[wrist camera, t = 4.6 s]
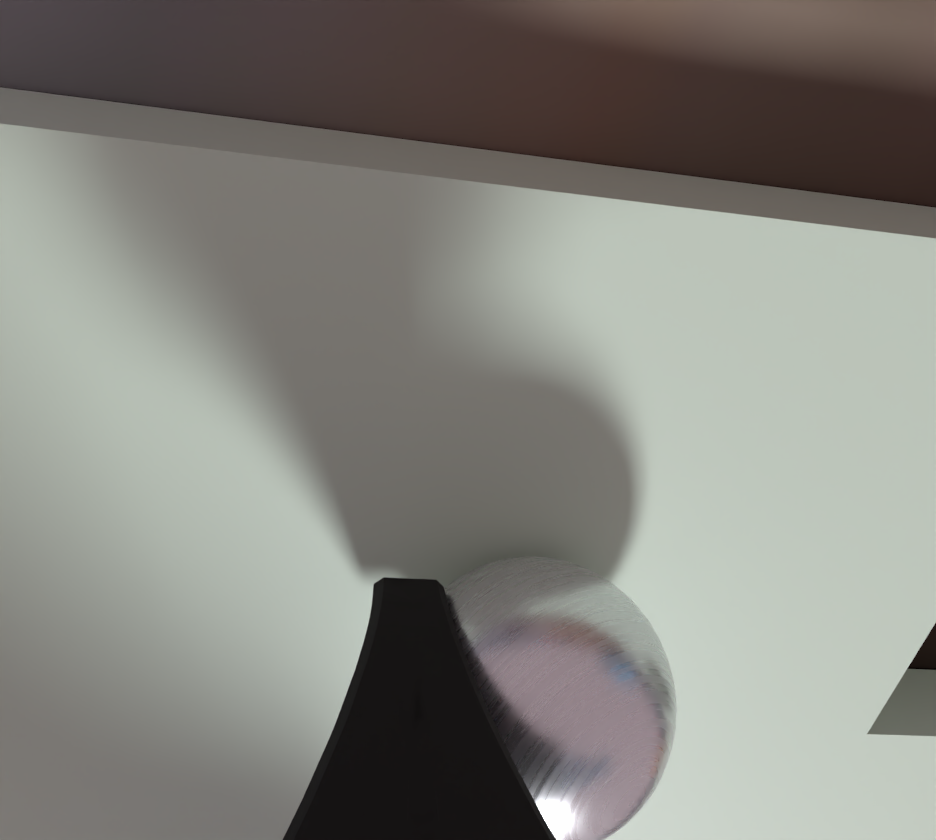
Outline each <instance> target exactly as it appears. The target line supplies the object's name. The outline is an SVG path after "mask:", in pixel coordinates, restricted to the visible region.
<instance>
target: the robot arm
mask: <svg viewBox="0 0 936 840" xmlns="http://www.w3.org/2000/svg"><path fill="white" fill-rule="evenodd" d="M283 840H556V838H555V837H554V835H553V833H552V832H551V830H550V828H549V826H548V824H547V823H546V821H545V819H544V817H543V816H542V814H541V812H540V810H539V808H538V807H537V805H536V803H535V801H534V799H533V797H532V795H531V794H530V792H529V790H528V788H527V786H526V784H525V782H524V780H523V779H522V777H521V775H520V773H519V771H518V769H517V767H516V765H515V763H514V761H513V759H512V757H511V755H510V753H509V751H508V749H507V747H506V745H505V743H504V741H503V739H502V737H501V735H500V732H499V730H498V728H497V726H496V724H495V722H494V719H493V717H492V715H491V713H490V711H489V709H488V706H487V704H486V702H485V700H484V698H483V696H482V693H481V691H480V689H479V686H478V684H477V682H476V679H475V677H474V675H473V672H472V670H471V667H470V664H469V662H468V659H467V657H466V654H465V652H464V649H463V647H462V644H461V641H460V638H459V636H458V633H457V630H456V627H455V624H454V621H453V618H452V615H451V611H450V608H449V605H448V601H447V598H446V594H445V589H444V587H443V586H442V585H441V584H440V583H439V582H438V581H437V580H433V579H410V578H387V577H383V578H382V579H380V580H379V581H377V582H376V583H374V586H373V597H372V607H371V612H370V618H369V623H368V627H367V631H366V635H365V639H364V642H363V646H362V649H361V652H360V656H359V659H358V662H357V665H356V669H355V672H354V674H353V677H352V680H351V683H350V685H349V688H348V691H347V693H346V696H345V699H344V702H343V704H342V707H341V710H340V713H339V715H338V718H337V721H336V723H335V726H334V728H333V731H332V733H331V736H330V738H329V740H328V742H327V745H326V747H325V749H324V751H323V754H322V756H321V758H320V761H319V763H318V765H317V767H316V770H315V772H314V774H313V776H312V779H311V781H310V783H309V785H308V788H307V790H306V792H305V794H304V797H303V799H302V801H301V803H300V805H299V807H298V809H297V811H296V813H295V815H294V817H293V819H292V821H291V824H290V826H289V828H288V830H287V832H286V834H285V836H284V838H283Z"/></svg>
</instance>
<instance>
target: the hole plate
mask: <svg viewBox="0 0 936 840" xmlns="http://www.w3.org/2000/svg"><path fill="white" fill-rule="evenodd" d="M527 556H536V557H547V558H554V559H559V560H564V561H567V562H570V563H574V564H577V565H580V566H582V567H584V568H586V569H588V570H590V571H592V572H595V573H597V574H599V575H601V576H602V577H604V578H605V579H606V580H608V581H609V582H611V583H612V584H614V585H615V586H616V587H618V588H619V589H620V590H622V591H623V592H624V593H625V594H626V595H627V596H628V597H629V598H630V599H631V600H632V601H633V602H634V603H635V604H636V605H637V607H638V608H639V609H640V610H641V612H642V613H643V614H644V615H645V617H646V618H647V619H648V621H649V622H650V623H651V625H652V627H653V628H654V630H655V632H656V633H657V635H658V637H659V639H660V641H661V644H662V646H663V648H664V651H665V653H666V656H667V658H668V660H669V664H670V668H671V672H672V676H673V680H674V685H675V694H676V707H677V712H676V730H675V736H674V741H673V746H672V750H671V754H670V758H669V761H668V763H667V766H666V768H665V771H664V773H663V775H662V777H661V780H660V782H659V784H658V786H657V788H656V789H655V791H654V792H653V794H652V796H651V797H650V798H649V800H648V801H647V802H646V804H645V805H644V806H643V808H642V809H641V810H640V811H639V812H638V813H637V814H636V815H635V816H634V817H633V818H632V819H631V820H630V821H629V822H628V823H627V824H626V825H625V826H624V827H622V828H621V829H620V830H619V831H617V832H616V833H614V834H613V835H611V836H610V837H608V838H606V839H604V840H936V670H925V669H907V668H908V667H909V665H910V663H911V662H912V660H913V659H914V657H915V655H916V654H917V652H918V650H919V649H920V647H921V646H922V644H923V642H924V641H925V639H926V637H927V636H928V634H929V633H930V631H931V629H932V628H933V626H934V625H935V623H936V208H935V207H927V206H920V205H912V204H904V203H896V202H889V201H881V200H873V199H865V198H857V197H850V196H842V195H834V194H826V193H818V192H811V191H803V190H795V189H787V188H780V187H772V186H764V185H756V184H748V183H741V182H733V181H725V180H717V179H710V178H702V177H694V176H686V175H678V174H671V173H663V172H655V171H647V170H640V169H632V168H624V167H616V166H608V165H601V164H593V163H585V162H577V161H570V160H562V159H554V158H546V157H538V156H531V155H523V154H515V153H507V152H500V151H492V150H484V149H476V148H468V147H461V146H453V145H445V144H437V143H430V142H422V141H414V140H406V139H398V138H391V137H383V136H375V135H367V134H359V133H352V132H344V131H336V130H328V129H321V128H313V127H305V126H297V125H289V124H282V123H274V122H266V121H258V120H251V119H243V118H235V117H227V116H219V115H212V114H204V113H196V112H188V111H181V110H173V109H165V108H157V107H149V106H142V105H134V104H126V103H118V102H111V101H103V100H95V99H87V98H79V97H72V96H64V95H56V94H48V93H41V92H33V91H25V90H17V89H9V88H2V87H0V840H283V838H284V836H285V834H286V832H287V830H288V828H289V826H290V824H291V821H292V819H293V817H294V815H295V813H296V811H297V809H298V807H299V805H300V803H301V801H302V799H303V797H304V794H305V792H306V790H307V788H308V785H309V783H310V781H311V779H312V776H313V774H314V772H315V770H316V767H317V765H318V763H319V761H320V758H321V756H322V754H323V751H324V749H325V747H326V745H327V742H328V740H329V738H330V736H331V733H332V731H333V728H334V726H335V723H336V721H337V718H338V715H339V713H340V710H341V707H342V704H343V702H344V699H345V696H346V693H347V691H348V688H349V685H350V683H351V680H352V677H353V674H354V672H355V669H356V665H357V662H358V659H359V656H360V652H361V649H362V646H363V642H364V639H365V635H366V631H367V627H368V623H369V618H370V612H371V607H372V597H373V586H374V583H376V582H377V581H379V580H380V579H382V578H383V577H387V578H410V579H433V580H437V581H438V582H439V583H440V584H441V585H442V586H443V587H446V586H447V585H448V584H450V583H451V582H452V581H454V580H455V579H457V578H458V577H460V576H462V575H463V574H465V573H467V572H469V571H471V570H473V569H475V568H477V567H479V566H482V565H484V564H487V563H491V562H494V561H498V560H502V559H506V558H513V557H527Z"/></svg>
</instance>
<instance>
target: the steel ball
mask: <svg viewBox="0 0 936 840" xmlns="http://www.w3.org/2000/svg"><path fill="white" fill-rule="evenodd" d="M444 589H445V594H446V598H447V601H448V605H449V608H450V611H451V615H452V618H453V621H454V624H455V627H456V630H457V633H458V636H459V638H460V641H461V644H462V647H463V649H464V652H465V654H466V657H467V659H468V662H469V664H470V667H471V670H472V672H473V675H474V677H475V679H476V682H477V684H478V686H479V689H480V691H481V693H482V696H483V698H484V700H485V702H486V704H487V706H488V709H489V711H490V713H491V715H492V717H493V719H494V722H495V724H496V726H497V728H498V730H499V732H500V735H501V737H502V739H503V741H504V743H505V745H506V747H507V749H508V751H509V753H510V755H511V757H512V759H513V761H514V763H515V765H516V767H517V769H518V771H519V773H520V775H521V777H522V779H523V780H524V782H525V784H526V786H527V788H528V790H529V792H530V794H531V795H532V797H533V799H534V801H535V803H536V805H537V807H538V808H539V810H540V812H541V814H542V816H543V817H544V819H545V821H546V823H547V824H548V826H549V828H550V830H551V832H552V833H553V835H554V837H555V838H556V840H604V839H606V838H608V837H610V836H611V835H613V834H614V833H616V832H617V831H619V830H620V829H621V828H622V827H624V826H625V825H626V824H627V823H628V822H629V821H630V820H631V819H632V818H633V817H634V816H635V815H636V814H637V813H638V812H639V811H640V810H641V809H642V808H643V806H644V805H645V804H646V802H647V801H648V800H649V798H650V797H651V796H652V794H653V792H654V791H655V789H656V788H657V786H658V784H659V782H660V780H661V777H662V775H663V773H664V771H665V768H666V766H667V763H668V761H669V758H670V754H671V750H672V746H673V741H674V736H675V730H676V712H677V707H676V694H675V685H674V680H673V676H672V672H671V668H670V664H669V660H668V658H667V656H666V653H665V651H664V648H663V646H662V644H661V641H660V639H659V637H658V635H657V633H656V632H655V630H654V628H653V627H652V625H651V623H650V622H649V621H648V619H647V618H646V617H645V615H644V614H643V613H642V612H641V610H640V609H639V608H638V607H637V605H636V604H635V603H634V602H633V601H632V600H631V599H630V598H629V597H628V596H627V595H626V594H625V593H624V592H623V591H622V590H620V589H619V588H618V587H616V586H615V585H614V584H612V583H611V582H609V581H608V580H606V579H605V578H604V577H602V576H601V575H599V574H597V573H595V572H592V571H590V570H588V569H586V568H584V567H582V566H580V565H577V564H574V563H570V562H567V561H564V560H559V559H554V558H547V557H536V556H527V557H513V558H506V559H502V560H498V561H494V562H491V563H487V564H484V565H482V566H479V567H477V568H475V569H473V570H471V571H469V572H467V573H465V574H463V575H462V576H460V577H458V578H457V579H455V580H454V581H452V582H451V583H450V584H448V585H447V586H446V587H444Z"/></svg>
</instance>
